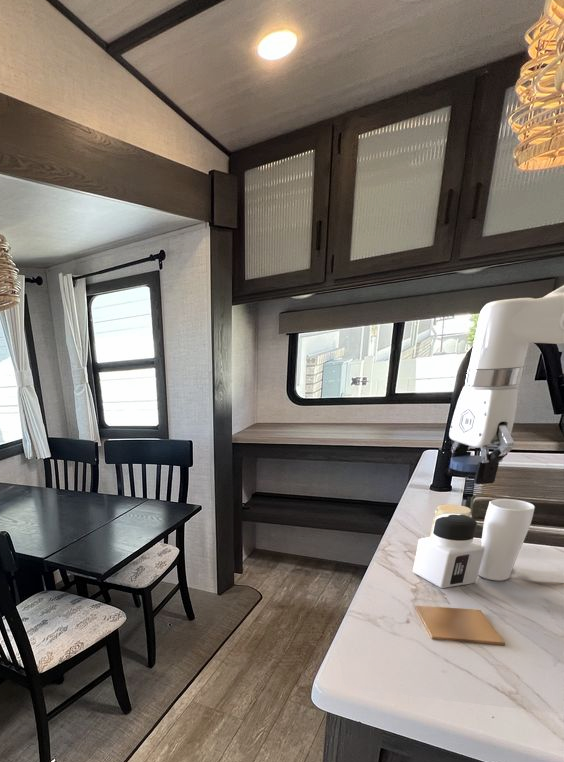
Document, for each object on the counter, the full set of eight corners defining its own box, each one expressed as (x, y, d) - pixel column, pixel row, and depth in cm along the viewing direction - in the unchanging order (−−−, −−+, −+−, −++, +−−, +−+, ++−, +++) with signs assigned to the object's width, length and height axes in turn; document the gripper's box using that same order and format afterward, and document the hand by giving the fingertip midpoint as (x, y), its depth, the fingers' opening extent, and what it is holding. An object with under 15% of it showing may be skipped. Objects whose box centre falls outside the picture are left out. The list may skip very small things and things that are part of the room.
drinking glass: (476, 565, 97) (493, 496, 91) (517, 574, 93) (538, 502, 86) (467, 577, 93) (484, 506, 87) (509, 587, 89) (531, 512, 82)
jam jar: (457, 541, 108) (466, 503, 104) (469, 553, 102) (478, 514, 99) (424, 540, 110) (431, 503, 106) (433, 552, 104) (441, 513, 101)
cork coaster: (480, 612, 82) (480, 609, 82) (504, 645, 73) (505, 642, 73) (415, 607, 85) (415, 605, 85) (431, 639, 76) (432, 636, 76)
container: (476, 583, 91) (493, 520, 86) (441, 589, 90) (455, 526, 85) (444, 566, 98) (457, 508, 93) (411, 572, 97) (422, 513, 92)
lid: (449, 471, 87) (450, 463, 86) (449, 462, 92) (450, 454, 92) (498, 473, 83) (499, 465, 83) (495, 463, 88) (497, 455, 88)
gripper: (440, 377, 90) (423, 468, 97) (505, 384, 74) (479, 492, 81) (482, 373, 89) (462, 465, 96) (555, 380, 73) (525, 489, 80)
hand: (470, 477), depth 88 cm, fingers closed on lid, 7 cm apart
